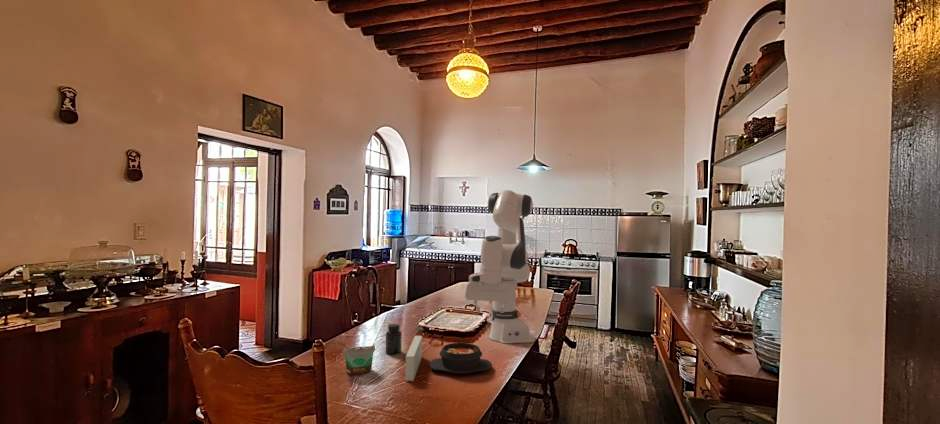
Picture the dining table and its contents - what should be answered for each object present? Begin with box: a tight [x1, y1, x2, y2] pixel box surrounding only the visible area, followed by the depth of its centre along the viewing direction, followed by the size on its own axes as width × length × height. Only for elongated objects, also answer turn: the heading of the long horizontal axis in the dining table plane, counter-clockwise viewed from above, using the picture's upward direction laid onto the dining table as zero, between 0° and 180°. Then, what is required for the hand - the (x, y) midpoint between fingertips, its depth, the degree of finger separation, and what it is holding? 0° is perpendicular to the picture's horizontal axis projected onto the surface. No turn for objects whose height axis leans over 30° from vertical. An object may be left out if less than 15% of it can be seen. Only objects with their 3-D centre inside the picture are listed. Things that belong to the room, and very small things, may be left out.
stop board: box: [404, 335, 423, 382], centre depth 175 cm, size 3×26×9 cm, turn 0°
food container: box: [342, 343, 376, 377], centre depth 168 cm, size 12×6×10 cm, turn 117°
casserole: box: [428, 342, 493, 375], centre depth 174 cm, size 25×19×8 cm
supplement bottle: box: [385, 323, 403, 356], centre depth 193 cm, size 7×7×12 cm
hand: (490, 312), depth 174 cm, fingers open, 8 cm apart
